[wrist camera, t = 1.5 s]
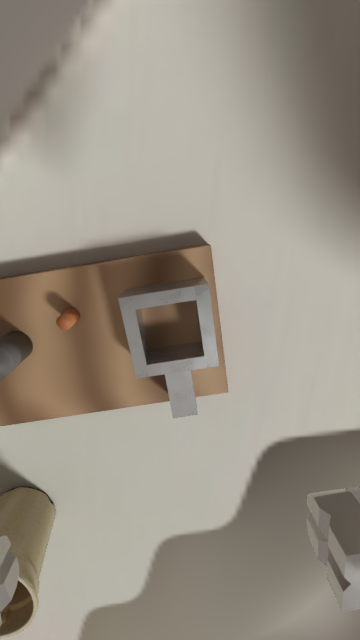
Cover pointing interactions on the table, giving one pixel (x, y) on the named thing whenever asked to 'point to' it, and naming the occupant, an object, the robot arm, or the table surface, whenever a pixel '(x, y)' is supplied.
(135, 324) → the grey square frame
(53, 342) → the board
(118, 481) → the table surface
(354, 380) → the table surface
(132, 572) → the table surface
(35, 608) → the flower pot
